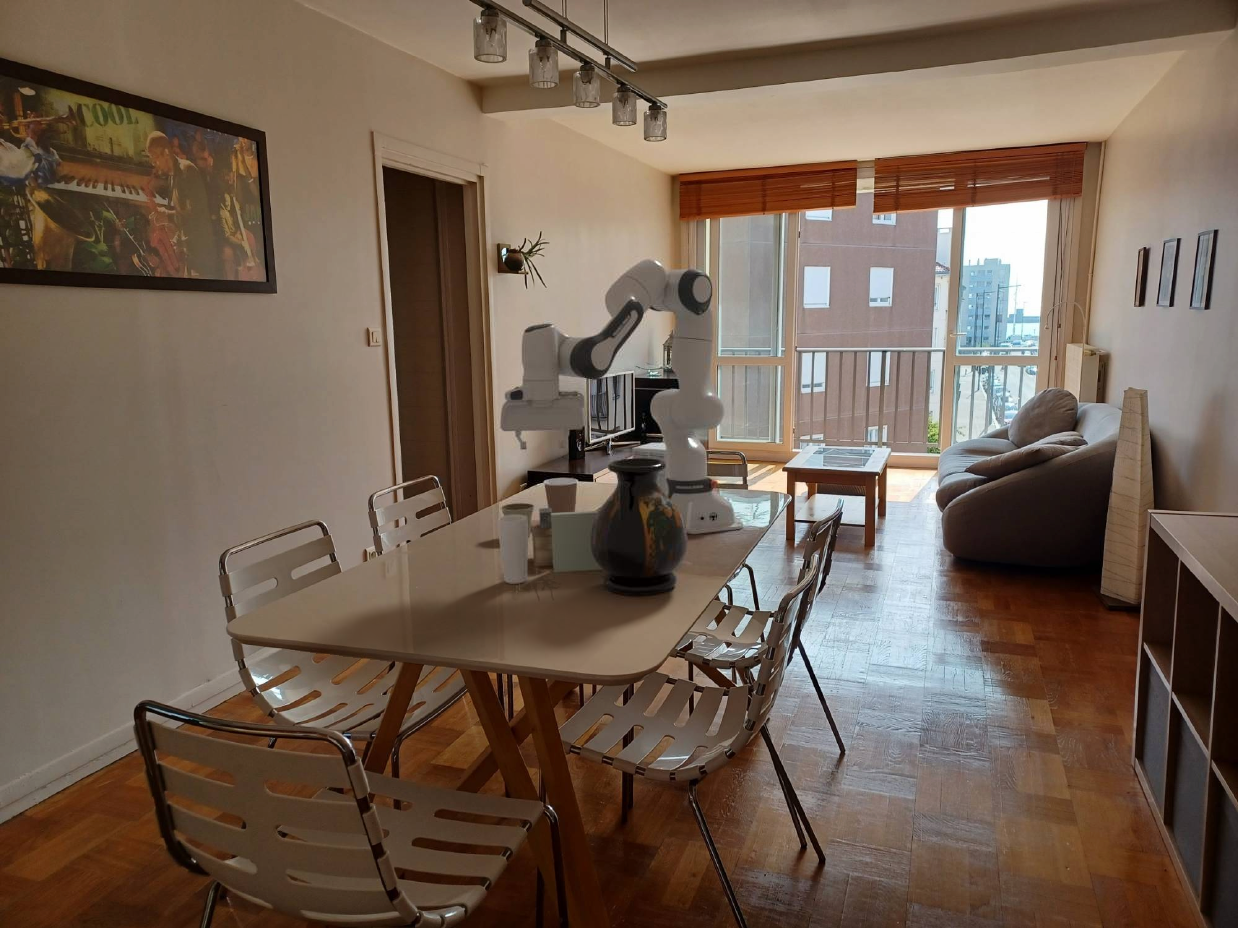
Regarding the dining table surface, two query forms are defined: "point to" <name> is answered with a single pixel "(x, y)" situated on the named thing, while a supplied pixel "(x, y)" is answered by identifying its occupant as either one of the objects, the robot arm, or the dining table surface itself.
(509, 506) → the flower pot
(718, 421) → the robot arm
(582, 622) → the dining table surface
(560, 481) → the coffee cup
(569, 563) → the board
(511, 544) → the drinking glass
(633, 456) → the supplement box
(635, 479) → the amphora vase
